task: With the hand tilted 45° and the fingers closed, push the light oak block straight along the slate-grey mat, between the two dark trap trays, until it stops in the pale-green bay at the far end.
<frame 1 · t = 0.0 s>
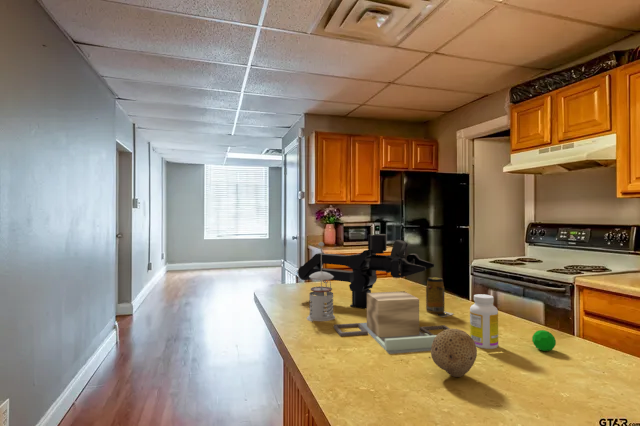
hand: (429, 267, 120), 17 cm above the worktop, tool horizontal, fingers open, 9 cm apart
oak block: (392, 330, 105), resting on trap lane
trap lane: (397, 336, 101), on the worktop
supplement bottle: (484, 346, 94), on the worktop
natural sponge: (453, 377, 76), on the worktop
condiment: (437, 314, 125), on the worktop
french press: (322, 318, 120), on the worktop
polyhedron: (543, 350, 91), on the worktop
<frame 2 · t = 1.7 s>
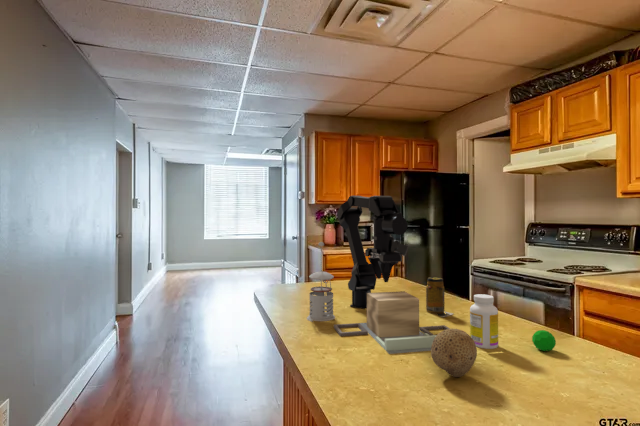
hand: (382, 280, 121), 12 cm above the worktop, tool pointing down, fingers open, 6 cm apart
nothing on the worktop moved.
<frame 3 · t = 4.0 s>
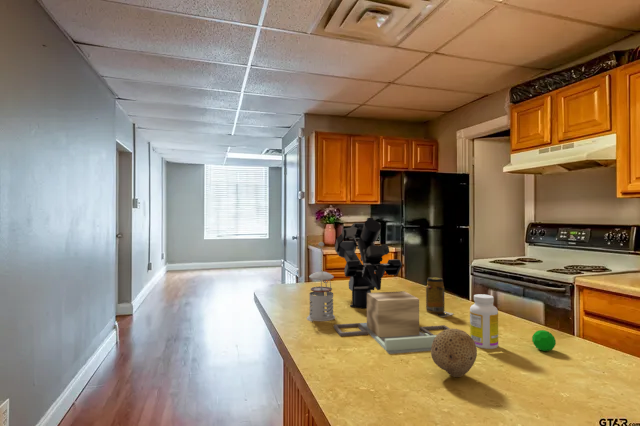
hand: (379, 289, 116), 10 cm above the worktop, tool tilted 45°, fingers closed
nothing on the worktop moved.
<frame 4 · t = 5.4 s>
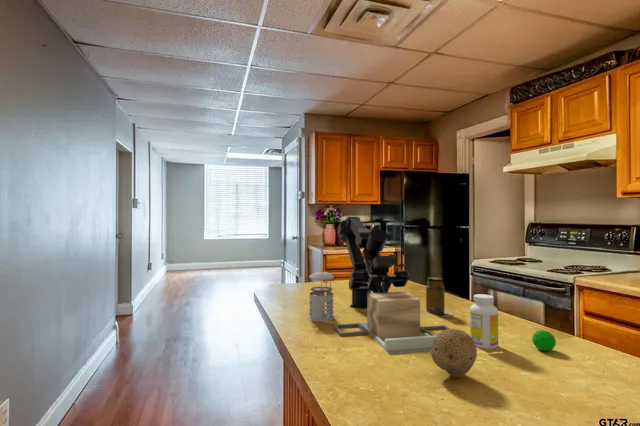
hand: (386, 302, 110), 7 cm above the worktop, tool tilted 45°, fingers closed, pressing on oak block
oak block: (392, 330, 105), resting on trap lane, touching gripper
everything else where it was.
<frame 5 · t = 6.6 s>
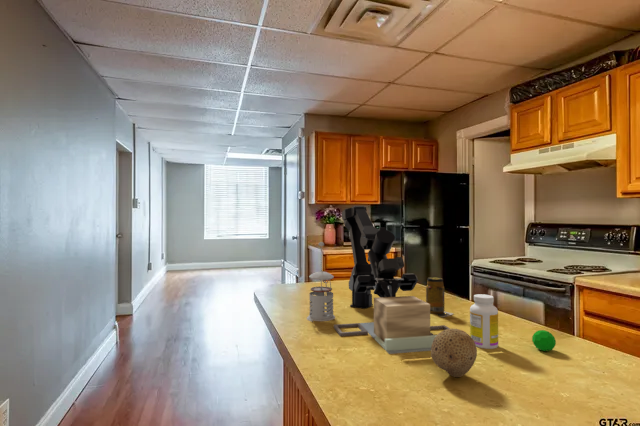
hand: (393, 307, 104), 7 cm above the worktop, tool tilted 45°, fingers closed, pressing on oak block
oak block: (401, 337, 99), resting on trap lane, touching gripper
everything else where it was.
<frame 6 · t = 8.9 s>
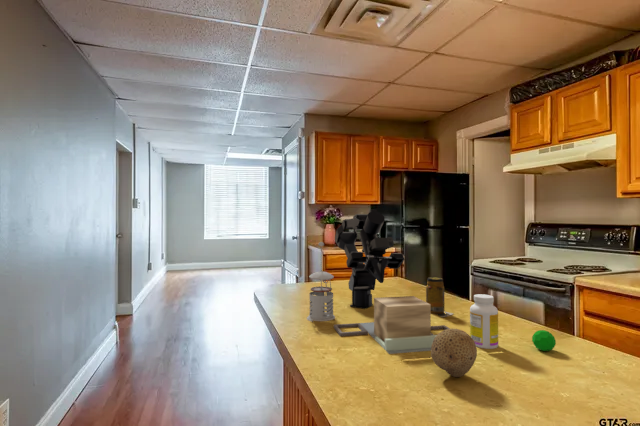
hand: (381, 282, 115), 13 cm above the worktop, tool tilted 40°, fingers closed
oak block: (401, 337, 99), resting on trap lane
everything else where it was.
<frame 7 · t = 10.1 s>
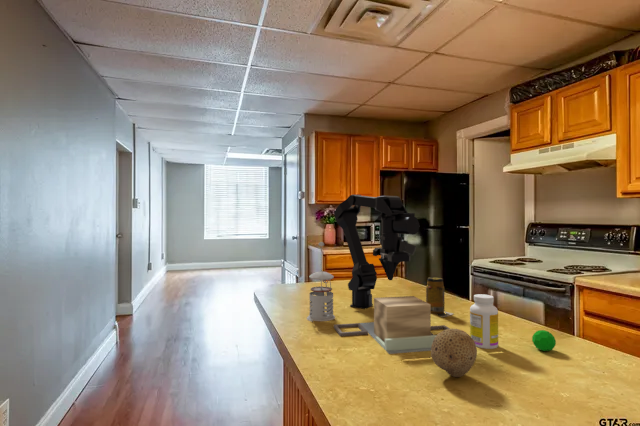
hand: (390, 280, 122), 12 cm above the worktop, tool pointing down, fingers closed
nothing on the worktop moved.
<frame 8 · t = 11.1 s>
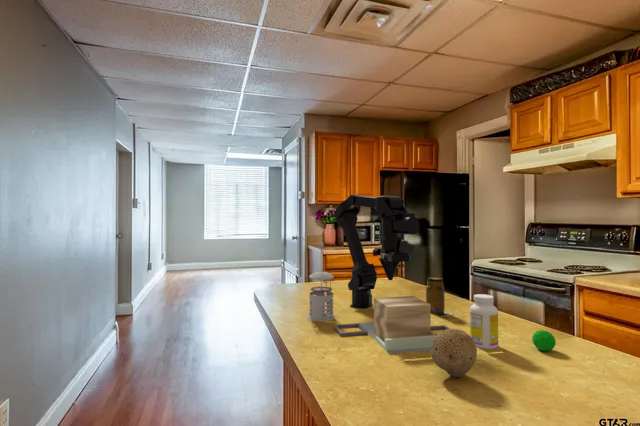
hand: (390, 280, 122), 12 cm above the worktop, tool pointing down, fingers closed
nothing on the worktop moved.
at the end: oak block 0.8 cm from the target spot, resting on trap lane; oak block tilted 0°; oak block moved 6.5 cm from its start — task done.
